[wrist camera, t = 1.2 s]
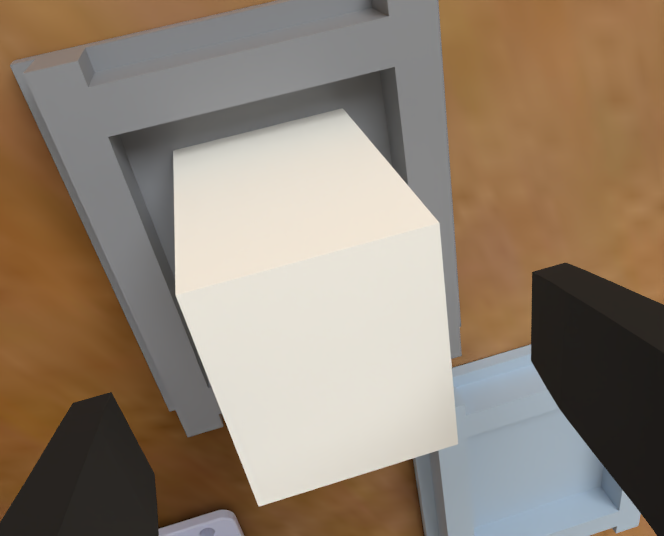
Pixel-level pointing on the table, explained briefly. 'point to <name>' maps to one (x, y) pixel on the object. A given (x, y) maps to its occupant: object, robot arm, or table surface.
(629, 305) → the robot arm
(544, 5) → the table surface
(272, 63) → the front socket
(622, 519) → the rear socket
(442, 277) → the white rectangular block
